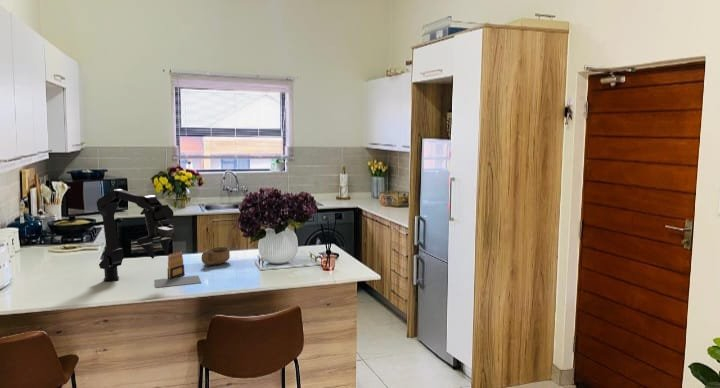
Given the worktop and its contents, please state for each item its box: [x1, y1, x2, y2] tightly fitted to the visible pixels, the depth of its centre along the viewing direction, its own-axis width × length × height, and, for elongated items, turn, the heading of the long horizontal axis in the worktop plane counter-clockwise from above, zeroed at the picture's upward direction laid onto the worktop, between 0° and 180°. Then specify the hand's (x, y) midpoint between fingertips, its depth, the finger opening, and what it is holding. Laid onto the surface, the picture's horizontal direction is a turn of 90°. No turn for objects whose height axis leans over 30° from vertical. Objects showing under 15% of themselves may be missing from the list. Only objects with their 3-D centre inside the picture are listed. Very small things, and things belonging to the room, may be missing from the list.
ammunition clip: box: [167, 250, 186, 279], centre depth 266 cm, size 11×2×12 cm, turn 162°
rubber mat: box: [154, 275, 202, 289], centre depth 259 cm, size 14×20×1 cm
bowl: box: [201, 246, 231, 266], centre depth 293 cm, size 18×14×10 cm
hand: (160, 256), depth 251 cm, fingers open, 9 cm apart
